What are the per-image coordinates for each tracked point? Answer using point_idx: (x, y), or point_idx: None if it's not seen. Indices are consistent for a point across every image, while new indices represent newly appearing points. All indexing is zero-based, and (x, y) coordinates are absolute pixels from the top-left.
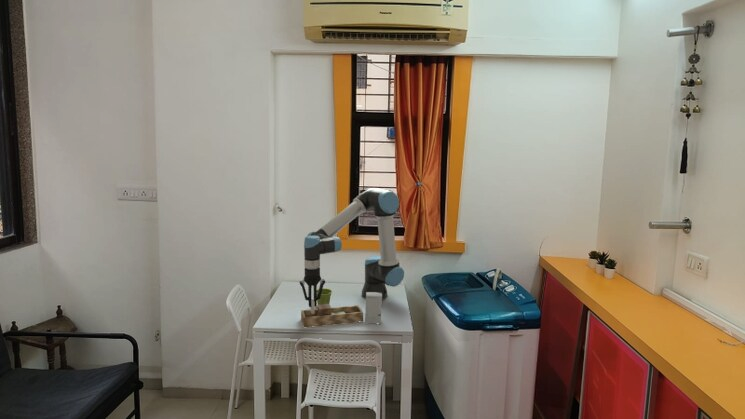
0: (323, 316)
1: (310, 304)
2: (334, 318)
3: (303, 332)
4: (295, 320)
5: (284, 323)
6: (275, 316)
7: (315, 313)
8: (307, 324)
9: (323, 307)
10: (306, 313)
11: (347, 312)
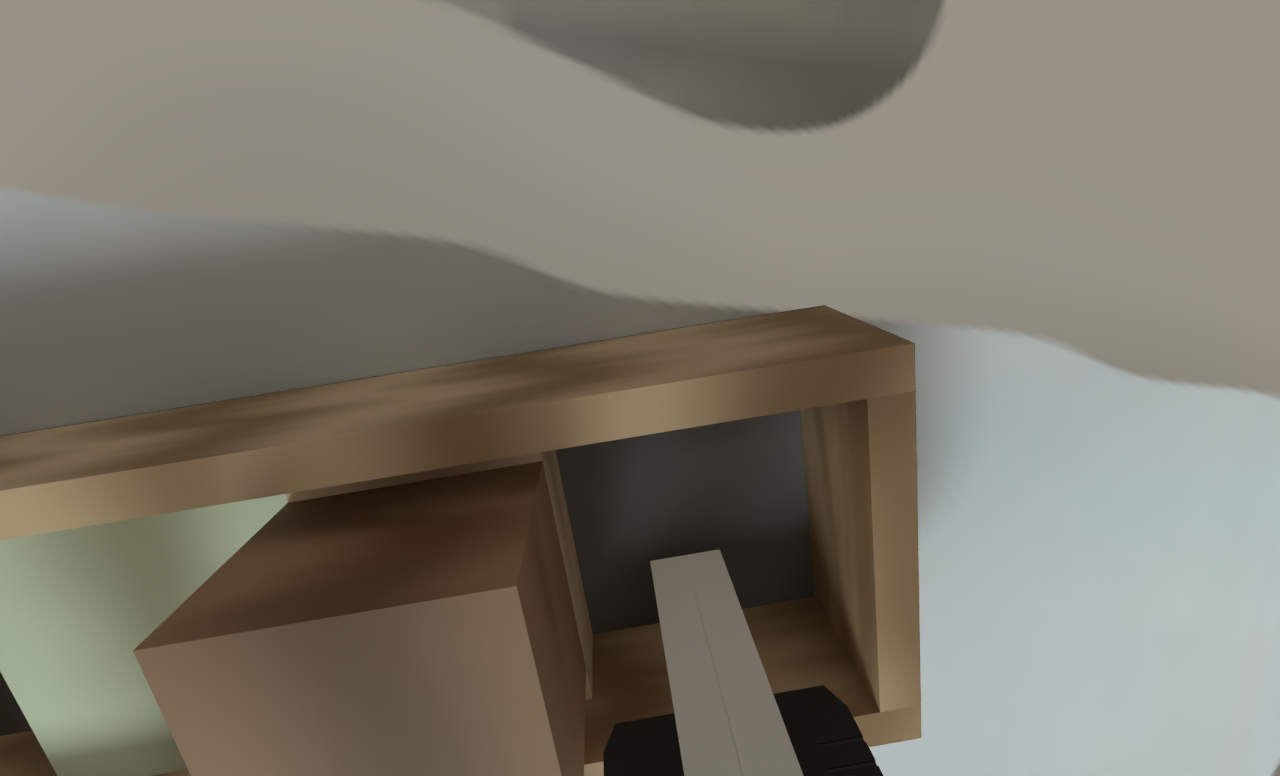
0: (428, 420)
1: (820, 764)
2: (198, 437)
3: (842, 105)
4: (930, 589)
5: (1105, 496)
6: (1185, 721)
7: (624, 694)
8: (776, 325)
9: (396, 705)
10: (797, 677)
11: (30, 768)
